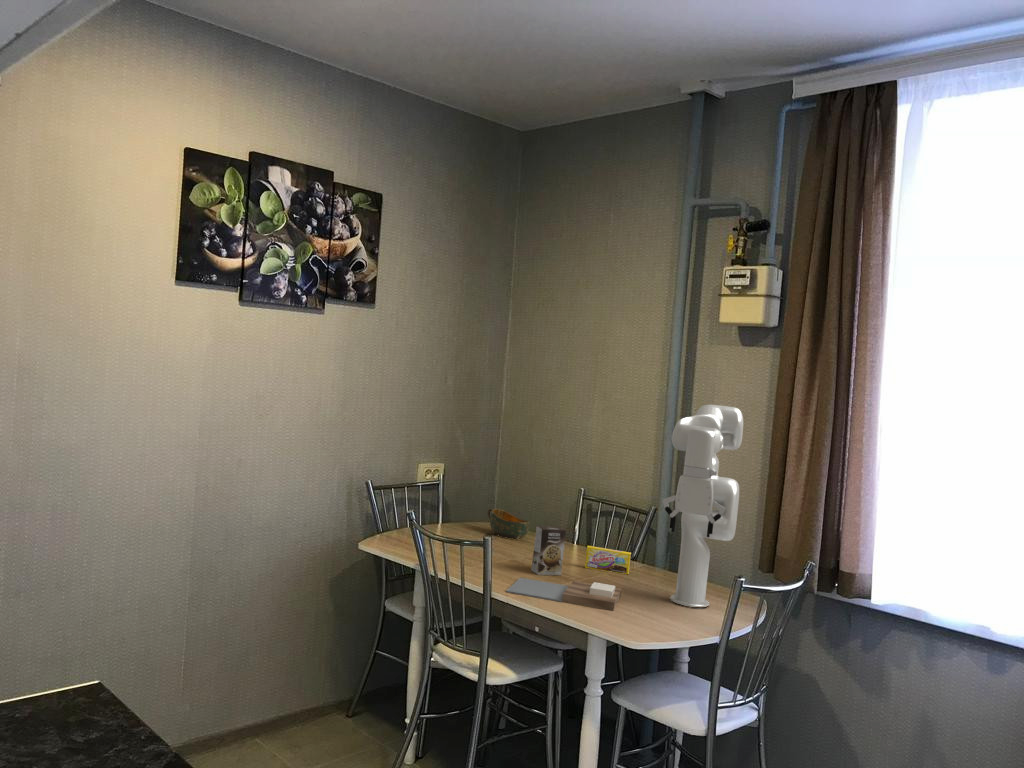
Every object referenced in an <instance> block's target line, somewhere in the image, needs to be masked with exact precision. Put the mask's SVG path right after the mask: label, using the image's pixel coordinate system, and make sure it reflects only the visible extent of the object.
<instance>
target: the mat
mask: <svg viewBox="0 0 1024 768" xmlns="http://www.w3.org/2000/svg"><path fill="white" fill-rule="evenodd" d="M569 586H570V585H567V584H566V585H565V584H559V583H556V582H555V583H554V582H549V581H542V580H537V579H531V578H524V577H519V578H518V579H517V580H516V581H515V582H513V584H512V585H510V587H508V588H507V590H505V592H506V593H508V594H513V595H521V596H526V597H531V598H537V599H543V600H548V601H554V602H559V603H563V602H562V599H563V593H564V592H565V591H566V589H567V588H568V587H569Z"/></svg>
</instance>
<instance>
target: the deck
mask: <svg viewBox="0 0 1024 768" xmlns="http://www.w3.org/2000/svg"><path fill="white" fill-rule="evenodd" d="M592 584H593V583H588V582H587V583H586V582H583V581H582V582H581V581H575V580H572V582H570V584H569V585H568V586H569V587H568V588H567V589H566V591H565V592H564V593H563V599H562V602H561V603H568V604H573V605H578V606H585V607H591V608H595V609H596V608H597V609H601V610H606V611H607V610H608V611H614V610H615V609H616V606H617V604H618V602H619V601H620V599H621V596H622V592H621V591H622V589H621V588H618V587H615V592H614V594H613V596H612V598H609V597H604V596H598V595H592V594H589V593H590V587H591V586H592Z"/></svg>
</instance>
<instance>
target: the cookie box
mask: <svg viewBox="0 0 1024 768" xmlns="http://www.w3.org/2000/svg"><path fill="white" fill-rule="evenodd" d="M535 529H536V530H535V537H534V544H533V545H534V547H533V555H532V561H531V562H532V563H531V568H530V569H531V571H532V572H533V573H534V574H536V575H537V576H561V575H562V571H563V570H562V569H563V560H564V552H565V543H566V535H567V530H566V529H564V528H562V527H559V526H546V525H545V526H544V525H536V528H535Z"/></svg>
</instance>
